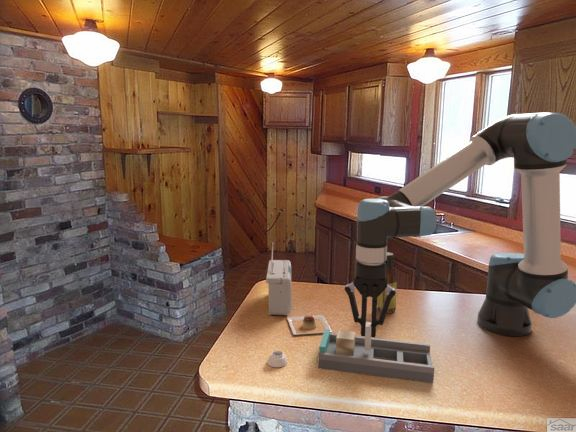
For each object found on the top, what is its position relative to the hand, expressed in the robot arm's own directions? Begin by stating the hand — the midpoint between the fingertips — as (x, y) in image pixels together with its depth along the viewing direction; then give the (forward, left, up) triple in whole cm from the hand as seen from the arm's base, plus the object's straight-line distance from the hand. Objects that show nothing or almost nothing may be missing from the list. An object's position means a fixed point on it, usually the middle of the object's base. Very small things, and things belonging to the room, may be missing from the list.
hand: (367, 347), depth 112 cm
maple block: (+6, 0, -2) cm, 6 cm away
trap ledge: (-2, 0, -4) cm, 4 cm away
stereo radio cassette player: (+32, -31, -4) cm, 45 cm away
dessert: (+19, -17, -5) cm, 26 cm away
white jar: (+23, +6, -4) cm, 24 cm away
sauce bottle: (-4, -35, -4) cm, 35 cm away
